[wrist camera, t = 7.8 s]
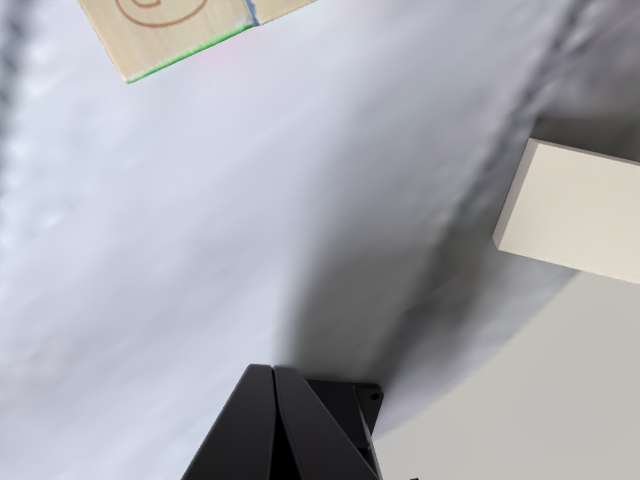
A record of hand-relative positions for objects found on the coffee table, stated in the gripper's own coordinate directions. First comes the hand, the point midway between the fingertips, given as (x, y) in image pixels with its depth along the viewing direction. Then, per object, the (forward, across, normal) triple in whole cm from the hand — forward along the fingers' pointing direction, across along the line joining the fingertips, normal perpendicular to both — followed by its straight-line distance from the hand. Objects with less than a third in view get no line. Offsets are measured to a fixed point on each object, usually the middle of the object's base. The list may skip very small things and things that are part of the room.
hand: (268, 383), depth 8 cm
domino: (+12, -11, -1) cm, 17 cm away
